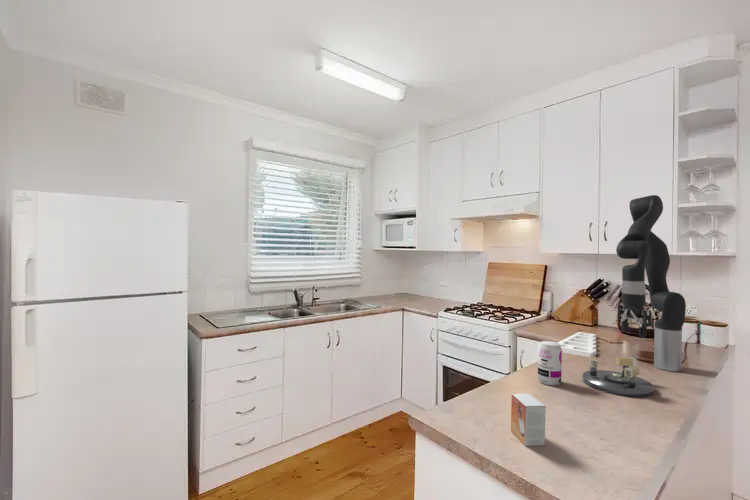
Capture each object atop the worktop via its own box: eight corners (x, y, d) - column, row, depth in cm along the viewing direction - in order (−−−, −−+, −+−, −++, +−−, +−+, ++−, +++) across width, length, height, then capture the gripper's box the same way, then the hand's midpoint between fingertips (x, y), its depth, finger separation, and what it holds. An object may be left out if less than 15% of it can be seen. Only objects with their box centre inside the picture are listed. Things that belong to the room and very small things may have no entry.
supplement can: (560, 380, 140) (561, 341, 140) (561, 387, 133) (562, 347, 133) (537, 377, 144) (538, 339, 144) (537, 383, 136) (538, 344, 136)
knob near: (619, 376, 139) (619, 358, 139) (615, 374, 141) (615, 357, 141) (636, 376, 138) (636, 359, 138) (632, 374, 141) (632, 357, 141)
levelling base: (600, 371, 151) (600, 361, 151) (663, 389, 132) (664, 378, 132) (571, 381, 139) (571, 371, 139) (636, 402, 120) (636, 390, 120)
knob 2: (632, 383, 131) (632, 365, 131) (639, 385, 129) (639, 367, 129) (623, 387, 127) (624, 368, 127) (630, 389, 125) (631, 370, 125)
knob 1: (589, 372, 142) (589, 355, 142) (595, 373, 141) (596, 356, 141) (590, 377, 137) (590, 359, 137) (597, 378, 136) (597, 360, 136)
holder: (578, 336, 215) (578, 331, 215) (614, 342, 202) (614, 337, 202) (551, 350, 183) (551, 345, 183) (591, 358, 170) (591, 353, 170)
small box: (510, 431, 101) (510, 393, 101) (529, 430, 101) (530, 392, 101) (524, 446, 93) (525, 405, 93) (545, 446, 93) (546, 405, 93)
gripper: (611, 290, 146) (611, 330, 146) (638, 294, 132) (639, 339, 132) (628, 290, 146) (629, 330, 146) (658, 294, 132) (658, 338, 132)
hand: (633, 334), depth 139 cm, fingers open, 8 cm apart
